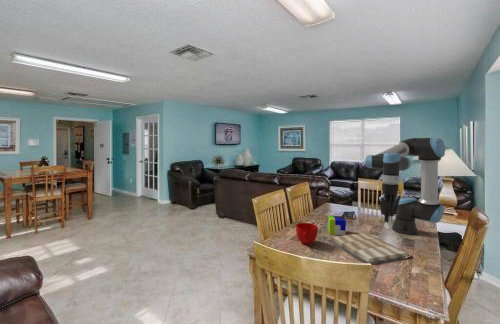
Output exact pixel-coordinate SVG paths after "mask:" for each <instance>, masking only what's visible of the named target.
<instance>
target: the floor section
mask: <svg viewBox="0 0 500 324" xmlns="http://www.w3.org/2000/svg"><path fill="white" fill-rule="evenodd" d="M327 242H329V244H332V245H333V246H335V247H337V248H338V249H340V250H342V251H343V252H345V253H346V254H348V255H350V256H352V257H353V258H355V259H356V260H357V261H359V262H361V263H363V264H364V263H368V262H367V261H365V260H363V259H362V258H360V257H358V256H357V255H355V251H356V250H363V249H369V248H376V247H383V246H390V245H392V244H390V243H389V242H386V241H385V240H382V239H380V238H377V237H375V236H373V235H371V234H368V233H367V232H361V233H354V234H353V233H352V234H345V235H344V236H343V235H335V236H331V237H330V239H327ZM409 255H410V254H408V256H409ZM405 257H406V256H405ZM405 257H399V258H393V259H387V260H381V261H375V262H369V263H371V264H373V265H378V264H377V263H379V264H383V263H382V262H384V263H389V262H388V261H390V262H394V261H393V260H396V261H399V260H398V259H402V260H404V259H403V258H405ZM410 257H413V256H412V255H410ZM413 258H414V257H413Z"/></svg>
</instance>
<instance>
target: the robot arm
mask: <svg viewBox="0 0 500 324" xmlns="http://www.w3.org/2000/svg"><path fill="white" fill-rule="evenodd" d="M445 154H446V145H445V143H444V141H443V139H442V138H440V137H411V138H407V139H403V140H401V141H399V142H397V143H395V144H394V145H393V146H391V147H389V148H387V149H385V150H384V151H382V152H380V153H377V154H375V155H373V154H368V155H366V157H365V159H364V165H365V167H366V168H369V169H378V170H382V178H381V179H382V180H381V181H382V183H381V190H382V193H381V196H378V197H377V198H378V201H379V208H380V214H381V215H383V216H384V217H383V218H384V220H383V221H384V228H385V229H387V230H391V229H392V231H394V232H396V233H399V234H403V235H411V236H412V234H414V235H417V234H419V233H418V231H419V230H418V227H417V223H416V219H417V220H421V221H424V222H425V221H426V222H429V223H434V224H437V223H439V222H441V220H442V218H443V216H444V214H445V206H444V205H442V204H441V200H439V199H438V192H439V191H438V188H439V187H438V186H439V183H438V182H439V181H438V180H439V175H438V174H439V170H438V169H439V162H440V161H441V160H442V158H443V157H445ZM407 156H408V157H407ZM409 156H410V157H418V158H417V159H418V161H419V162H420V188H421V189H420V198H419V199H418V200H417V198H416V197H401V195H398V192H399V190H400V189H399V186H400V185H399V183H400V171H402V172H403V171H406V170H408V169H410V168H411V165H412V160H411V159H410V158H409ZM393 217H395V219H394V221H393ZM392 222H393V224H392Z"/></svg>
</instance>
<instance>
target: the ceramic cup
mask: <svg viewBox="0 0 500 324" xmlns="http://www.w3.org/2000/svg"><path fill="white" fill-rule="evenodd" d="M318 230H319V226H318V225H316V224H314V223H310V222H299V223H297V224H295V231H296V232H295V233H296V236H297V238H298V240H299V241H300V243H301V244H304V245H312V244H313V243H314V242H315V240H316V239H317V237H318V233H319V231H318Z"/></svg>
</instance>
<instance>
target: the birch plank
mask: <svg viewBox="0 0 500 324" xmlns="http://www.w3.org/2000/svg"><path fill="white" fill-rule="evenodd" d="M355 255H357V256H358V257H360V258H362V259H363V260H365V261H367V262H368V263H369V262H375V261H381V260H387V259H393V258H399V257H405V256H408V255H409V253H408V251H406V250H403V249H402V248H399V247H397V246H394V245H393V244H391V245H390V246H383V247H376V248H369V249H363V250H356V251H355Z"/></svg>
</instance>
